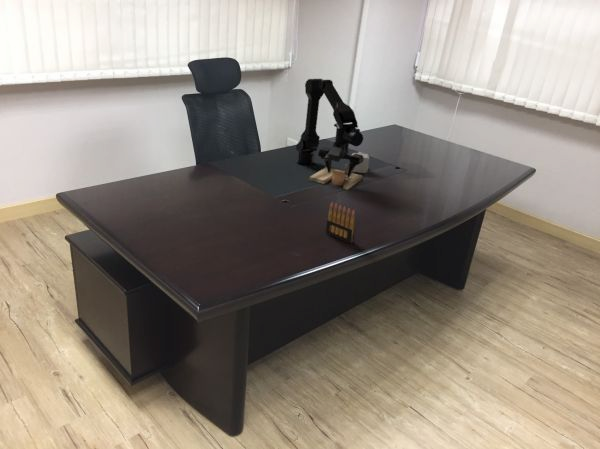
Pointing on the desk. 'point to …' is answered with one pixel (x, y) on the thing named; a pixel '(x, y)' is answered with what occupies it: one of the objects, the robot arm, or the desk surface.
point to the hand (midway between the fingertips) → (338, 174)
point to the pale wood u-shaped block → (325, 176)
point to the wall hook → (362, 164)
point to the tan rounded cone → (338, 177)
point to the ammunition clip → (341, 223)
